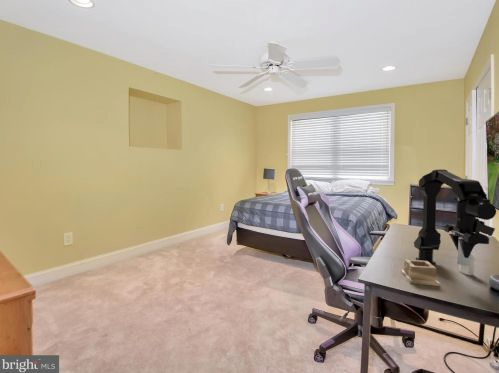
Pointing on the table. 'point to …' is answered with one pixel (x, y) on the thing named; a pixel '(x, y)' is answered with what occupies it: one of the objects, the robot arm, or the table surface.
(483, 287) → the table surface
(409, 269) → the bottle holder
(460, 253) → the peg
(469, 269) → the eye dropper bottle
